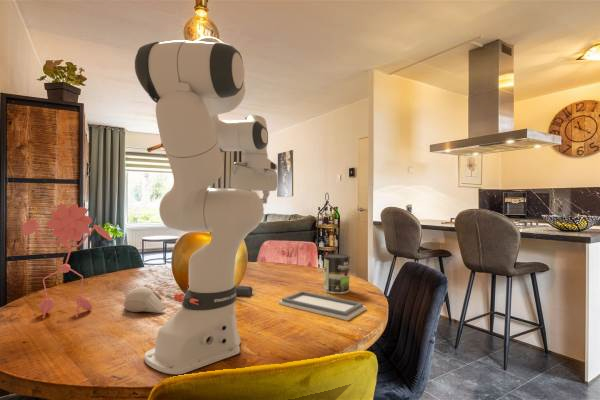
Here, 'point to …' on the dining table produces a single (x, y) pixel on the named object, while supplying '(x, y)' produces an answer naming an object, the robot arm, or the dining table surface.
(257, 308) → the dining table surface
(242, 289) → the can opener
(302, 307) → the baseplate tray
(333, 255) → the coffee can
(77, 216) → the figurine
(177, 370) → the robot arm
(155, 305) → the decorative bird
